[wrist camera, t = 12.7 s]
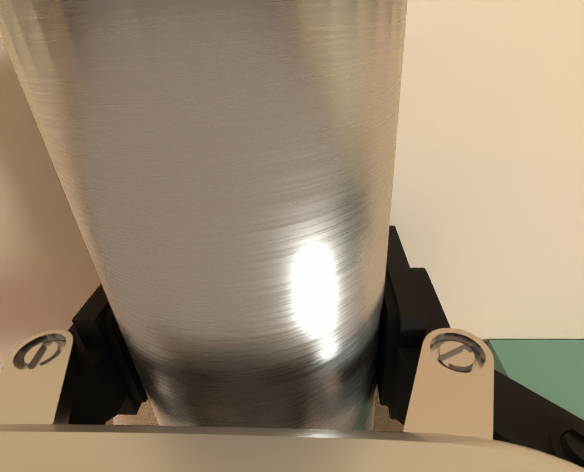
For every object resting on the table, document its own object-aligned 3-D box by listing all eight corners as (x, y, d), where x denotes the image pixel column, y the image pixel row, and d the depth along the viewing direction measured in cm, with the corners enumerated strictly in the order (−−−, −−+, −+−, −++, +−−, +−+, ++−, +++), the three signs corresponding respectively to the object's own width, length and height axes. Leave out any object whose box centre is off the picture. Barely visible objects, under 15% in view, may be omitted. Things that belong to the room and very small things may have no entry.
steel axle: (358, 448, 17) (372, 633, 12) (231, 443, 18) (193, 618, 13) (381, -22, 8) (480, -83, 3) (119, -1, 9) (-179, -22, 4)
